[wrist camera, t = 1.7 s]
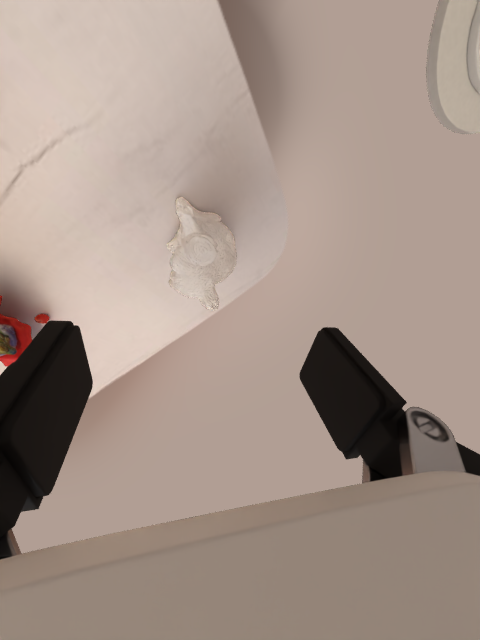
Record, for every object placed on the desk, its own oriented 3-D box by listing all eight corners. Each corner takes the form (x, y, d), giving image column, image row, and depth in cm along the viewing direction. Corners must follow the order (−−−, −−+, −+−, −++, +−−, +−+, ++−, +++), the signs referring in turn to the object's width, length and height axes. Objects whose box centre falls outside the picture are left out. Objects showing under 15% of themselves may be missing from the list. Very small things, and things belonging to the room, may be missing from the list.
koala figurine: (154, 187, 22) (130, 212, 12) (224, 181, 22) (254, 199, 13) (174, 271, 27) (169, 335, 17) (231, 263, 27) (257, 320, 18)
